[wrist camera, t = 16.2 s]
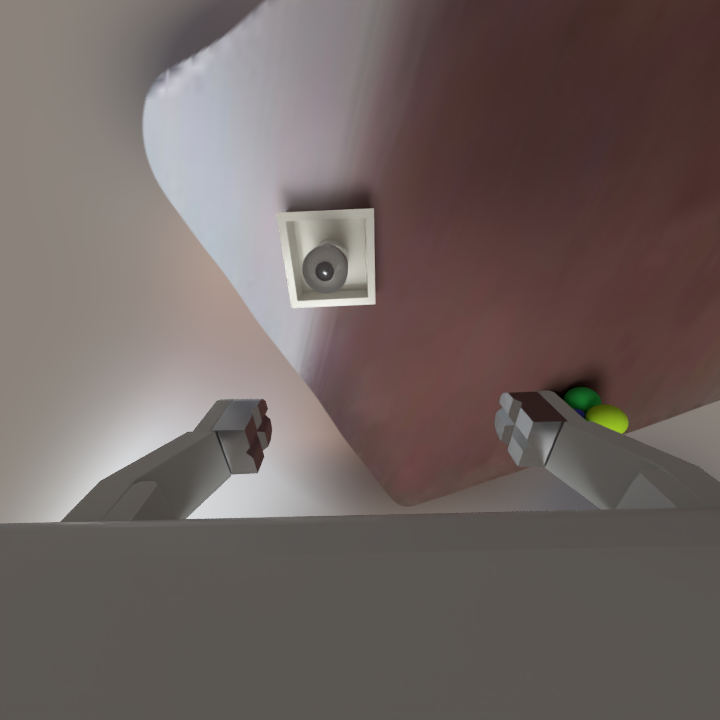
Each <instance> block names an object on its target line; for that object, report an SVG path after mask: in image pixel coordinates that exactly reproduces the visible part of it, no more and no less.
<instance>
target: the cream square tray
mask: <svg viewBox="0 0 720 720" xmlns="http://www.w3.org/2000/svg"><path fill="white" fill-rule="evenodd" d="M276 215H277V221H278V228H279V234H280V240H281V246H282V252H283V258H284V265H285V271H286V277H287V283H288V289H289V295H290V302H291V308H306V307H326V306H347V305H367V304H375V250H374V208H368V209H346V210H325V211H303V212H282V213H276ZM330 239H333V240H337V241H339V242H341V243H342V244H343V245H344V246H345V247H346V249H347V251H348V255H349V262H348V274H347V279H346V281H345V283H344V285H343V286H342V287H341V288H340V289H339V290H337V291H336V292H333V293H328V294H324V293H319V292H317V291H315V290H313V289H312V288H311V287H310V286H309V285H308V284H307V283H306V281H305V279H304V276H303V272H302V265H303V261H304V259H305V257H306V255H307V254H308V253H309V252H310V251H311V250H313V249H314V248H315V247H317V246H318V245H319V244H321V243H322V242H323V241H326V240H330Z"/></svg>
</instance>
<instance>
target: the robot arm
mask: <svg viewBox="0 0 720 720" xmlns="http://www.w3.org/2000/svg"><path fill="white" fill-rule="evenodd" d="M499 403H500V405H501V407H502V408H501V409H500V410H499V411H498V412H497V413H496V417H495V429H496V432H497V434H498V436H499V438H500V439H501V441H503V442H505V443H506V444H508V445H509V447H508V452H509V454H510V455H511V457H512V458H513V460H514V461H515V463H516V464H517V466H518V467H533V466H534V467H545V468H546V469H547V470H549V471H550V472H551V473H553V474H554V475H556V476H557V477H558V478H560V479H561V480H562V481H564V482H565V483H566V484H568V485H569V486H571V487H572V488H573V489H574V490H576V491H577V492H579V493H580V494H581V495H583V496H584V497H585V498H587V499H588V500H589V501H591V502H592V503H593V504H595V505H596V506H597V507H599V508H600V509H601V510H563V511H523V512H521V511H520V512H482V513H481V512H478V513H436V514H435V513H434V514H391V515H351V516H350V515H349V516H307V517H266V518H265V517H264V518H223V519H186V518H187V517H188V516H189V515H190V514H191V513H192V512H193V511H194V510H195V509H196V508H197V507H199V506H200V505H201V504H202V503H203V502H204V501H205V500H206V499H207V498H208V497H209V496H210V495H211V494H212V493H213V492H214V491H216V490H217V489H218V488H219V487H220V486H221V485H222V484H223V483H224V482H225V481H226V480H227V479H228V478H229V477H230V476H231V474H249V473H258V471H259V468H260V466H261V463H262V461H263V458H264V454H263V450H264V449H265V448H267V447H268V445H269V443H270V440H271V434H272V426H271V421H270V419H269V418H268V417H267V416H266V415H265V414H266V411H267V409H268V408H267V405H266V401H265V400H263V399H227V400H226V399H225V400H218V401H216V403H215V404H214V405H213V407H212V408H211V409H210V410H209V412H208V413H207V414H206V415H205V417H204V418H203V419H202V421H201V422H200V423H199V424H198V426H197V427H196V428H195V429H194V431H193V432H187V433H185V434H183V435H182V436H180V437H178V438H176V439H174V440H173V441H171V442H169V443H167V444H165V445H164V446H162V447H160V448H158V449H157V450H155V451H153V452H151V453H149V454H148V455H146V456H144V457H142V458H140V459H139V460H137V461H135V462H133V463H132V464H130V465H128V466H126V467H124V468H123V469H121V470H119V471H117V472H115V473H114V474H112V475H110V476H109V477H107V478H105V479H103V480H101V481H100V482H99V483H98V484H97V485H96V486H95V487H94V488H93V489H92V490H91V491H90V492H89V493H88V494H87V495H86V496H85V497H84V499H82V500H81V501H80V502H79V503H78V504H77V505H76V506H75V507H74V509H72V510H71V511H70V513H69V514H68V515H67V516H66V517H65V518H64V519H63V520H62V521H61V522H54V523H53V522H52V523H8V524H0V720H720V482H719V481H717V480H716V479H715V478H713V477H712V476H711V475H709V474H708V473H706V472H705V471H704V470H703V469H701V468H700V467H698V466H696V465H694V464H691V463H689V462H687V461H684V460H682V459H680V458H677V457H674V456H672V455H670V454H668V453H665V452H663V451H661V450H658V449H656V448H654V447H651V446H649V445H646V444H644V443H642V442H639V441H637V440H635V439H633V438H630V437H628V436H625V435H623V434H621V433H618V432H616V431H614V430H611V429H609V428H607V427H604V426H602V425H600V424H597V423H595V422H593V421H586V420H585V419H584V418H582V417H581V416H580V415H579V414H578V413H577V412H576V411H575V410H573V409H572V408H571V407H570V406H569V405H568V404H567V403H566V402H564V401H563V400H562V399H561V398H560V397H559V396H558V395H557V394H555V393H554V392H552V391H549V390H547V391H533V392H511V393H503V394H502V396H501V398H500V401H499Z"/></svg>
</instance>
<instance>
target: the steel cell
mask: <svg viewBox="0 0 720 720" xmlns="http://www.w3.org/2000/svg"><path fill="white" fill-rule="evenodd" d="M348 262H349V255H348V251H347V249H346V247H345V246H344V245H343V244H342V243H341V242H339V241H337V240H333V239H330V240H326V241H323V242H322V243H321V244H319V245H318V246H317V247H315V248H314V249H313V250H311V251H310V252H309V253H308V254H307V255H306V257H305V259H304V261H303V265H302V272H303V276H304V279H305V281H306V283H307V284H308V285H309V286H310V287H311V288H312V289H313V290H315V291H317V292H319V293H324V294H328V293H333V292H336V291H337V290H339V289H340V288H341V287H342V286H343V285H344V283H345V281H346V279H347V274H348Z"/></svg>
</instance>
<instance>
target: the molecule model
mask: <svg viewBox="0 0 720 720" xmlns="http://www.w3.org/2000/svg"><path fill="white" fill-rule="evenodd" d="M563 401H564V402H566V403H567V404H568V405H569V406H570V407H571V408H572V409H573V410H575V411H576V412H577V413H578V414H579V415H580V416H581V417H582V418H584V419H585V420H586V421H593V422H595V423H597V424H600V425H602V426H604V427H607V428H609V429H611V430H614V431H616V432H618V433H621V434H622V433H624V432H625V431H626V429H627V427H628V419H627V416H626V415H625V414H624V412H623V411H621V410H620V409H619V408H617V407H614V406H612V405H606V404H601V399H600V397H599V395H598V394H597V393H596V392H595V391H593V390H591V389H589V388H585V387H576V388H573V389H571V390H569V391H568V392H567V393H566V394H565V397H564V400H563Z"/></svg>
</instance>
